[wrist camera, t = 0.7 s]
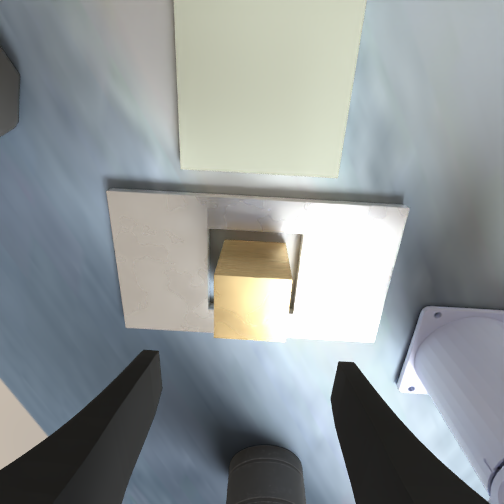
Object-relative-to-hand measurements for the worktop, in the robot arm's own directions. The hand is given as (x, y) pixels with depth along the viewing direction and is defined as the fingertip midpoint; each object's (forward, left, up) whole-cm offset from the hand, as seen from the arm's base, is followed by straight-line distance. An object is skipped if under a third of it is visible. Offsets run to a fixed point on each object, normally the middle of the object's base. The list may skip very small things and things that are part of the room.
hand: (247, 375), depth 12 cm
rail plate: (0, 0, -9) cm, 9 cm away
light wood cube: (0, 0, -10) cm, 10 cm away
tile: (0, -11, -9) cm, 14 cm away
